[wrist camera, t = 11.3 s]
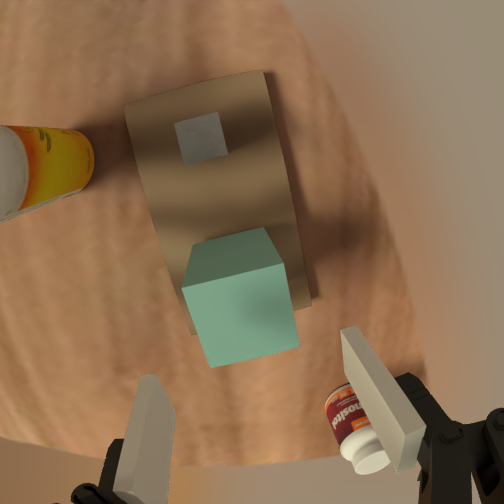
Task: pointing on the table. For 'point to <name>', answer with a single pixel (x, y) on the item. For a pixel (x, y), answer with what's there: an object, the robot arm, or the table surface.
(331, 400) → the pill bottle
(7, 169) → the beer can
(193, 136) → the short post
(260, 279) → the mint green toy brick
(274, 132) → the board
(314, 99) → the table surface
